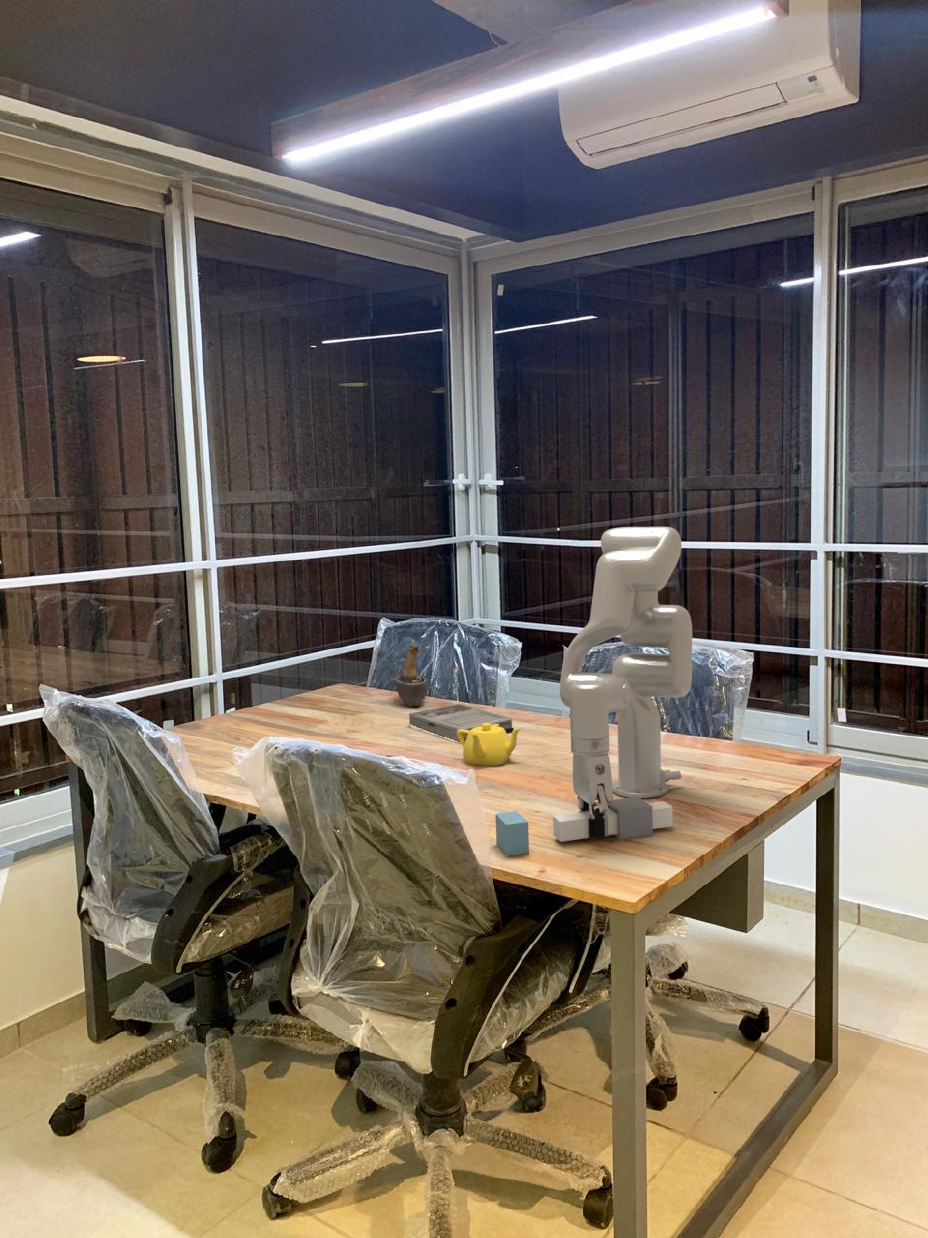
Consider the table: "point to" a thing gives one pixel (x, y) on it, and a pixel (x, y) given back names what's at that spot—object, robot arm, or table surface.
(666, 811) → the bar
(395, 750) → the table surface
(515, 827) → the socket
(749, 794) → the table surface
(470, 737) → the teapot
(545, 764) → the table surface
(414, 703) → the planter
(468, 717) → the hard drive
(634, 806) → the sleeve
